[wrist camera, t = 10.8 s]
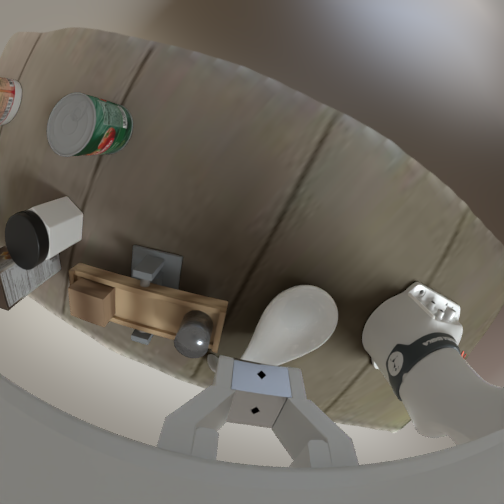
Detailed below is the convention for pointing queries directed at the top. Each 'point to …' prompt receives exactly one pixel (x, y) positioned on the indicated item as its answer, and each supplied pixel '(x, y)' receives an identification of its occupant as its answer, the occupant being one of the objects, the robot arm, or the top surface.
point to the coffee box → (22, 278)
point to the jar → (43, 232)
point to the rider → (92, 301)
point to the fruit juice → (9, 99)
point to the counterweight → (194, 334)
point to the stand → (154, 274)
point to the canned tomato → (88, 126)
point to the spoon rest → (290, 326)
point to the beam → (153, 304)
